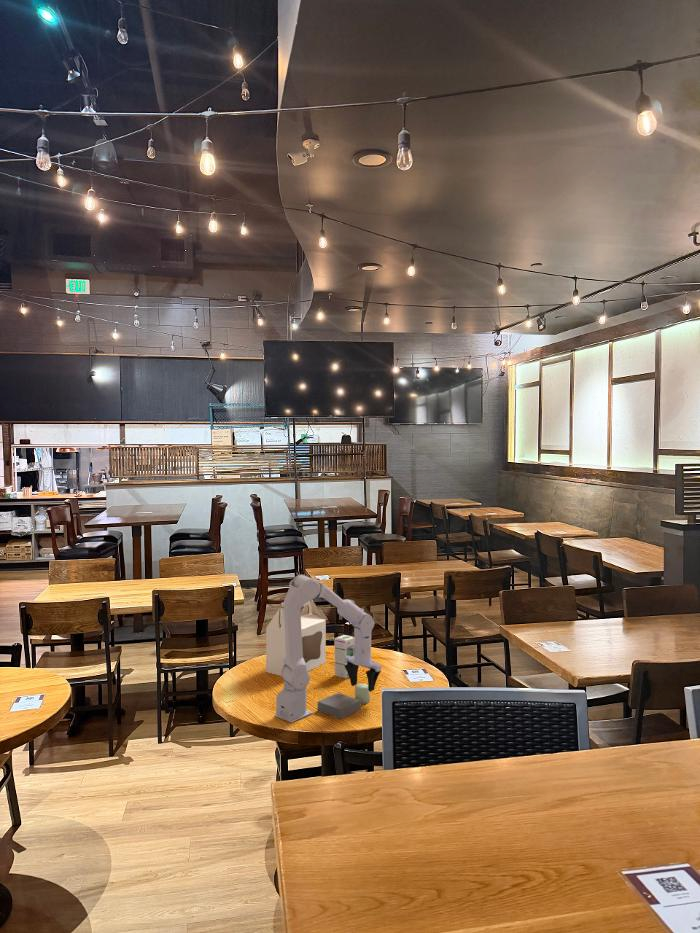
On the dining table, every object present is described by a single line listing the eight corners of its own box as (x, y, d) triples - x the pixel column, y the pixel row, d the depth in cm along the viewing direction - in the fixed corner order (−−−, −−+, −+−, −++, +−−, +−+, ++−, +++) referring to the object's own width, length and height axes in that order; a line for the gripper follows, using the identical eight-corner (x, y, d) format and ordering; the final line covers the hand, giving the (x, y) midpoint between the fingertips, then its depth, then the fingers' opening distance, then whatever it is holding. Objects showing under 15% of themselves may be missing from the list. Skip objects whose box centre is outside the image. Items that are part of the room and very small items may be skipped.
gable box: (299, 657, 255) (300, 589, 255) (326, 662, 248) (326, 593, 248) (265, 672, 236) (265, 599, 236) (292, 679, 229) (293, 604, 229)
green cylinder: (363, 705, 205) (363, 690, 205) (351, 701, 209) (352, 686, 209) (372, 700, 209) (372, 686, 209) (361, 697, 212) (361, 682, 212)
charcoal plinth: (340, 719, 194) (340, 709, 194) (317, 710, 200) (317, 701, 200) (360, 709, 202) (360, 700, 201) (338, 701, 208) (338, 692, 208)
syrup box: (346, 679, 230) (346, 640, 230) (333, 675, 233) (334, 637, 233) (355, 674, 234) (355, 636, 234) (343, 671, 238) (343, 634, 238)
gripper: (386, 649, 207) (386, 689, 207) (353, 641, 216) (353, 679, 217) (373, 654, 202) (373, 695, 202) (340, 645, 211) (340, 685, 211)
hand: (362, 687), depth 209 cm, fingers open, 7 cm apart
